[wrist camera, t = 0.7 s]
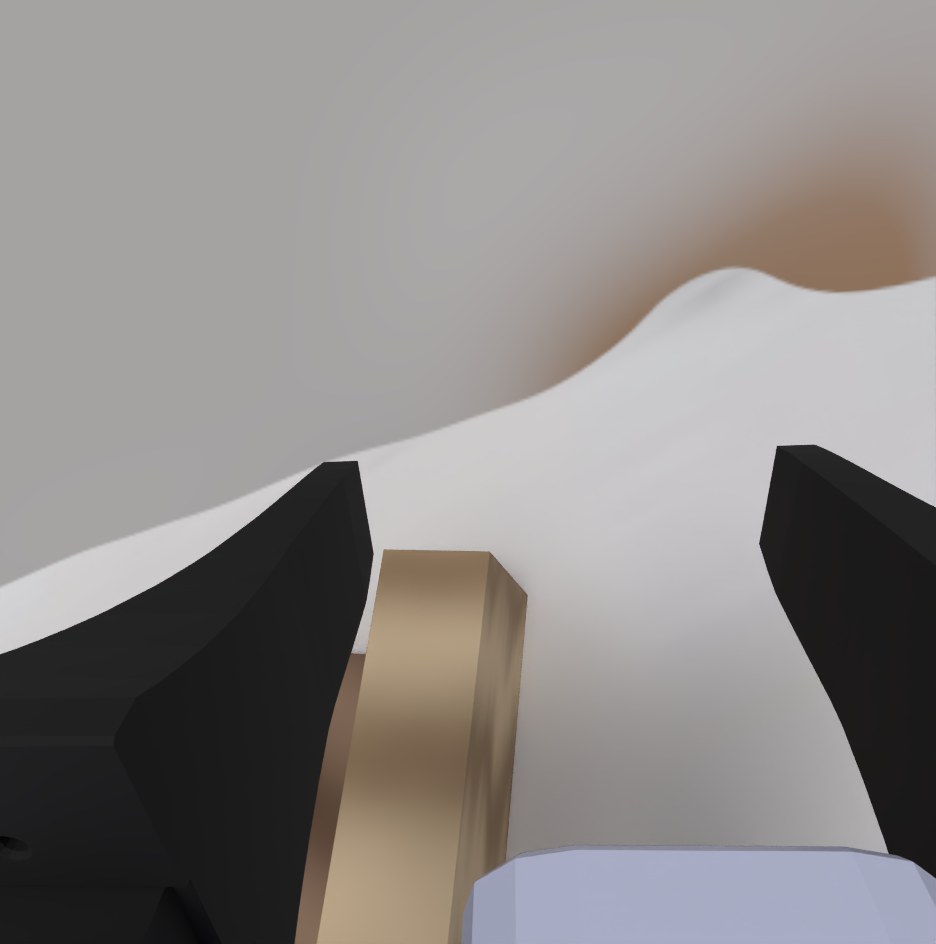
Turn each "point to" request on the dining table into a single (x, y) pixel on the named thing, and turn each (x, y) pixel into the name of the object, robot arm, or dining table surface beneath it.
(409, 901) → the rail
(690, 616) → the dining table surface
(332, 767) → the bracket board
